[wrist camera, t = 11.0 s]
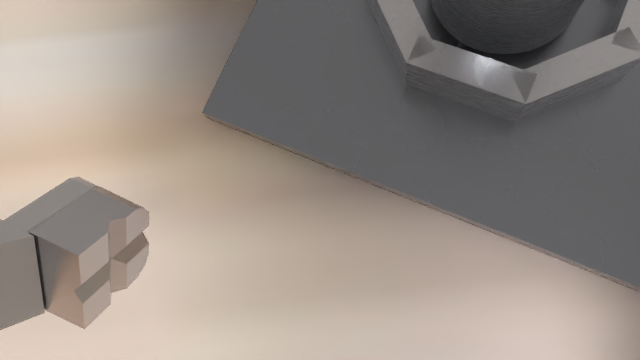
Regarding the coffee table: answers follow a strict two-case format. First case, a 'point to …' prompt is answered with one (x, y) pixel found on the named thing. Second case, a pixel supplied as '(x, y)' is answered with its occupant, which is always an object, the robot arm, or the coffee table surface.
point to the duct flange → (457, 117)
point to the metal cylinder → (505, 22)
